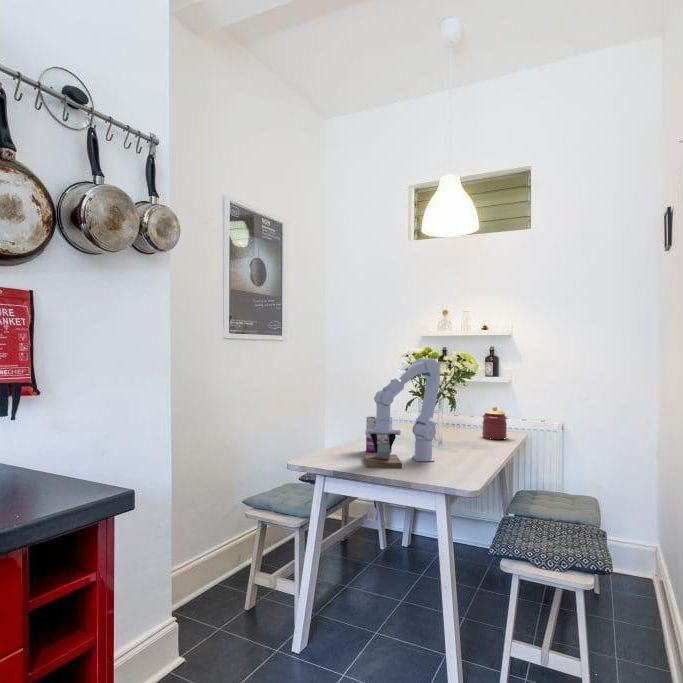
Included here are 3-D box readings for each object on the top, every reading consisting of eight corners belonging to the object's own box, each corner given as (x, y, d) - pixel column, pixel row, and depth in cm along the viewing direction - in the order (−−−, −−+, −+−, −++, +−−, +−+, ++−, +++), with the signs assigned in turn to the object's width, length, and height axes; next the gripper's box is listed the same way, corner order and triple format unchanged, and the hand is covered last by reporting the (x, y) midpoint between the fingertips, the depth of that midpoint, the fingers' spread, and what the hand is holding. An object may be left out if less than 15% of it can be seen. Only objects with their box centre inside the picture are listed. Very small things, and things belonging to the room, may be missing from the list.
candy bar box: (392, 452, 225) (392, 417, 225) (387, 454, 221) (388, 418, 221) (369, 449, 230) (370, 415, 230) (365, 451, 226) (366, 416, 226)
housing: (377, 459, 200) (377, 443, 200) (375, 454, 208) (375, 439, 208) (389, 459, 200) (389, 443, 200) (387, 455, 208) (387, 439, 208)
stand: (363, 458, 211) (364, 454, 211) (396, 459, 212) (396, 454, 212) (367, 467, 195) (367, 462, 195) (402, 468, 196) (402, 463, 196)
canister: (479, 435, 276) (480, 404, 277) (502, 436, 276) (503, 405, 276) (485, 439, 264) (486, 407, 264) (509, 440, 263) (510, 408, 263)
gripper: (366, 420, 199) (366, 453, 199) (402, 421, 200) (401, 454, 200) (365, 418, 206) (364, 450, 206) (399, 418, 207) (398, 450, 207)
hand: (382, 452), depth 203 cm, fingers closed on housing, 5 cm apart
